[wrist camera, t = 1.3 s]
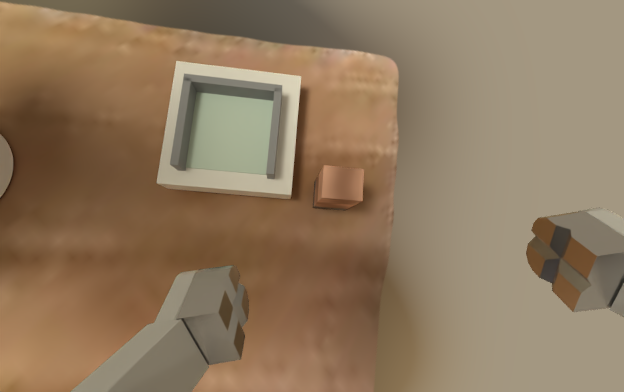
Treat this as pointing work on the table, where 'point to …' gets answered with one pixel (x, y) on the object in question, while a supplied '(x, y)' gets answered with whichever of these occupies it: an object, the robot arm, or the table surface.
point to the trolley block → (338, 188)
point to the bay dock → (230, 131)
